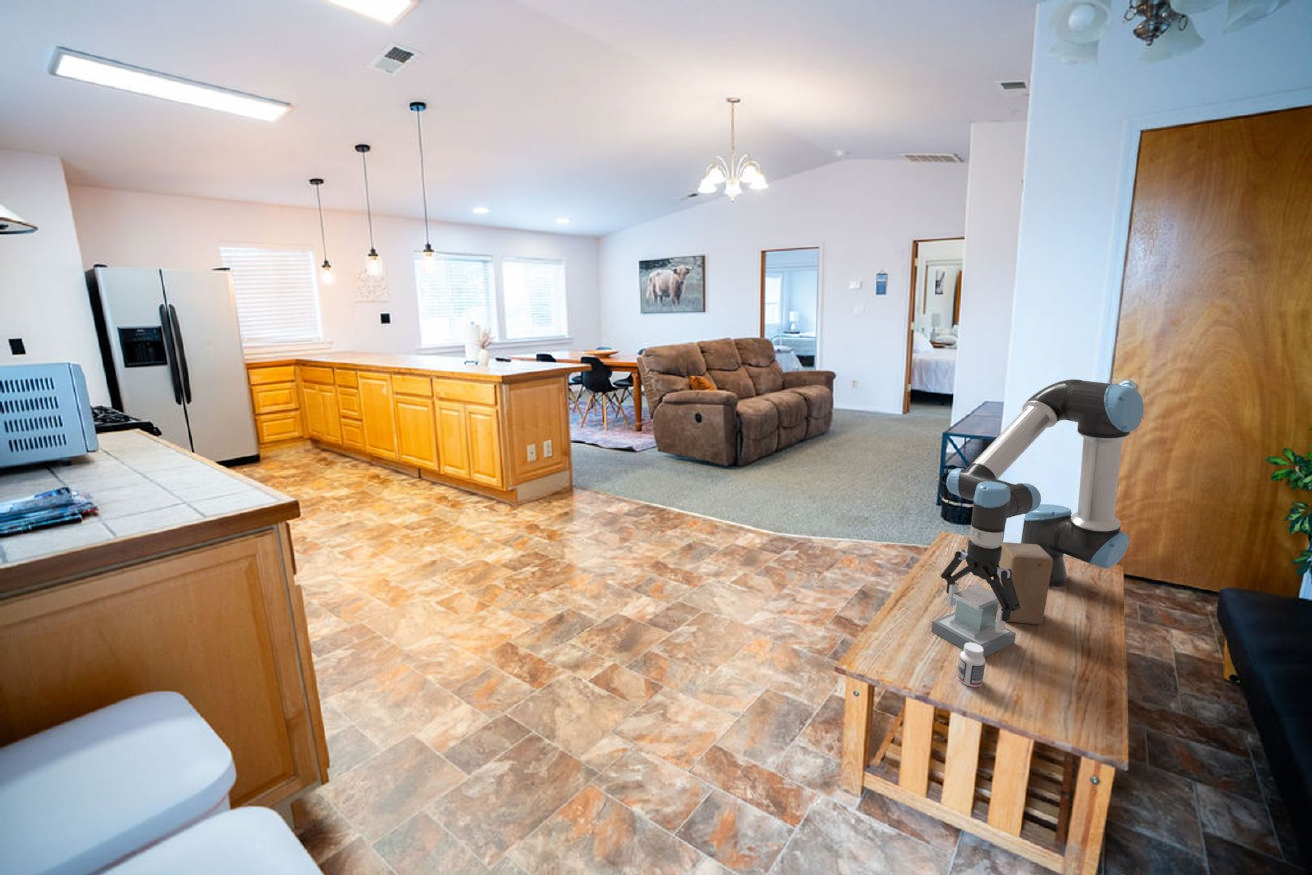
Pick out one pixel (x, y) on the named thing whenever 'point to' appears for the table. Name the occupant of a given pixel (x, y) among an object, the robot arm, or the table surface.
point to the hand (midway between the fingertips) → (974, 617)
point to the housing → (975, 611)
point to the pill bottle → (971, 665)
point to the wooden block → (1027, 579)
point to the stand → (987, 641)
